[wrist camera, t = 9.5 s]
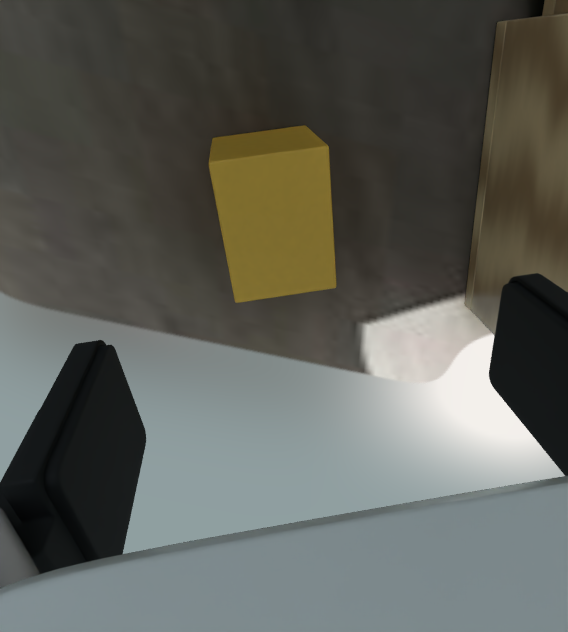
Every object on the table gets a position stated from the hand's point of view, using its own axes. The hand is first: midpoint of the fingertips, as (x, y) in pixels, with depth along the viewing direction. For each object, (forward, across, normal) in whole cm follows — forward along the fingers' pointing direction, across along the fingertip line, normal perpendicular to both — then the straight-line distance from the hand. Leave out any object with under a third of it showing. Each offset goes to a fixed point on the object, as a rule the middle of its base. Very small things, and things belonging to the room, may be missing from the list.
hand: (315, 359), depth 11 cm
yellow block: (+14, 0, 0) cm, 14 cm away
